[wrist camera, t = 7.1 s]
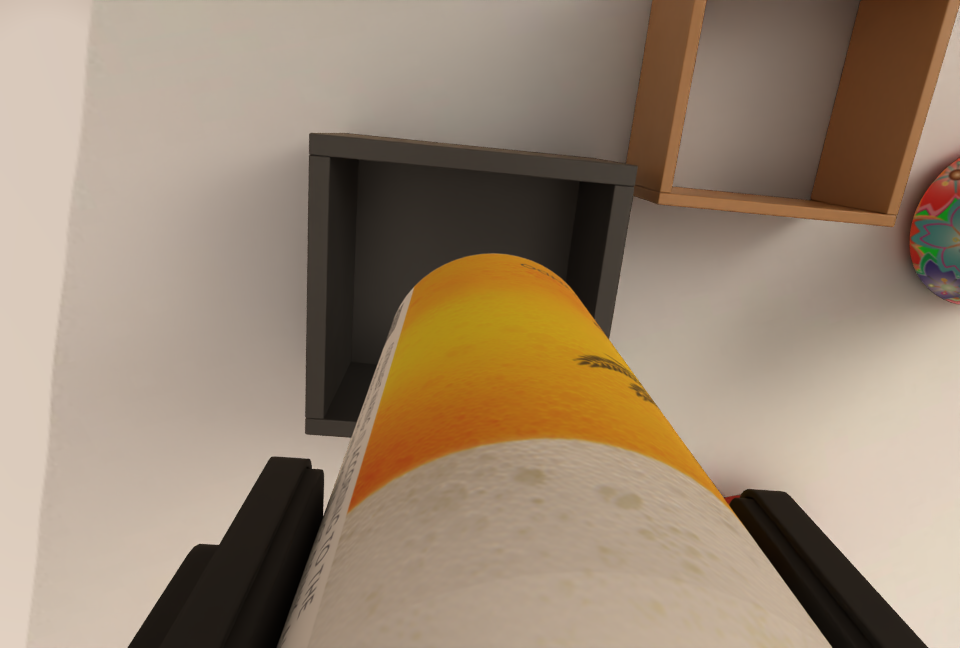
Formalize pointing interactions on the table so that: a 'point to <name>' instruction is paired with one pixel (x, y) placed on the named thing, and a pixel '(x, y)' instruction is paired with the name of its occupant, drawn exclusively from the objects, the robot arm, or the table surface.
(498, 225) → the dark grey open box
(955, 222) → the mug
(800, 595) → the robot arm
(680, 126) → the wooden square frame
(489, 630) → the beer can
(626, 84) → the table surface
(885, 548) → the table surface
